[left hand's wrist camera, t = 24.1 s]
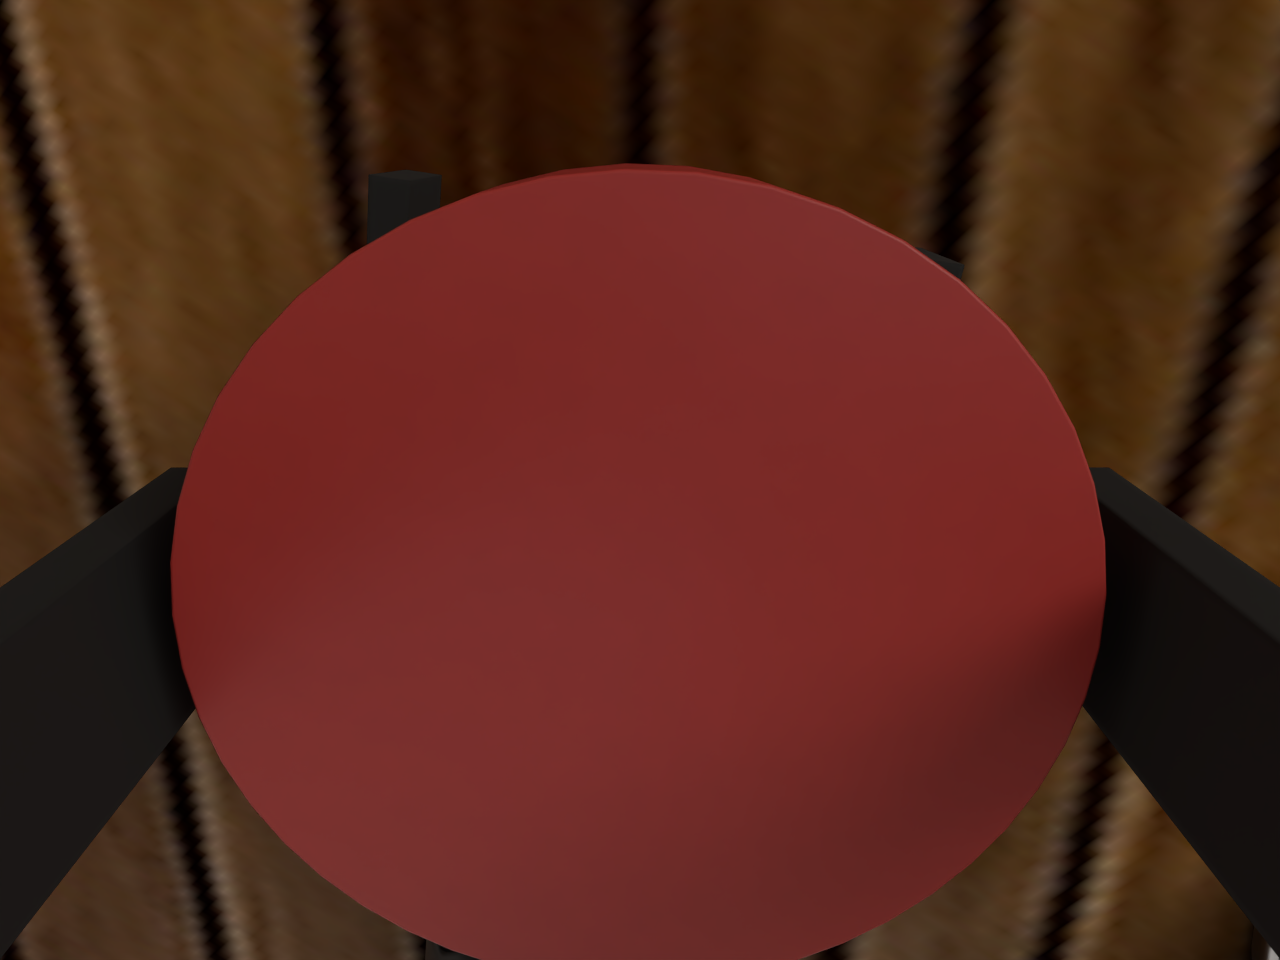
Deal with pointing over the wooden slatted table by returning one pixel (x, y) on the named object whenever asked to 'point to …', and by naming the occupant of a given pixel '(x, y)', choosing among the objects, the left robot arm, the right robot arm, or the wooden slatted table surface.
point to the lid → (638, 572)
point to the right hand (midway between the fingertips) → (669, 214)
